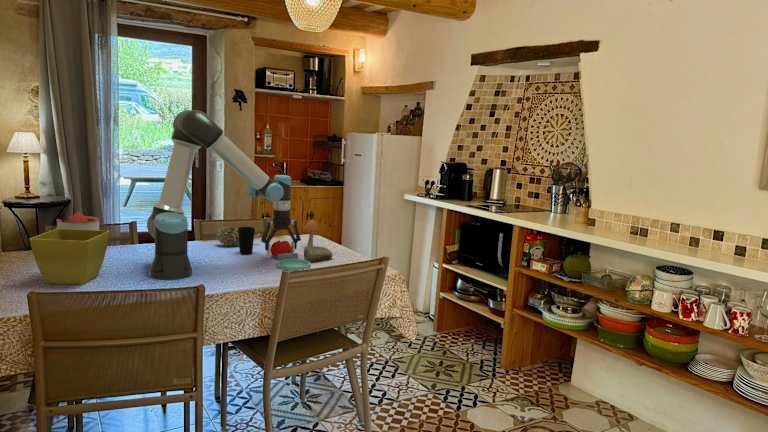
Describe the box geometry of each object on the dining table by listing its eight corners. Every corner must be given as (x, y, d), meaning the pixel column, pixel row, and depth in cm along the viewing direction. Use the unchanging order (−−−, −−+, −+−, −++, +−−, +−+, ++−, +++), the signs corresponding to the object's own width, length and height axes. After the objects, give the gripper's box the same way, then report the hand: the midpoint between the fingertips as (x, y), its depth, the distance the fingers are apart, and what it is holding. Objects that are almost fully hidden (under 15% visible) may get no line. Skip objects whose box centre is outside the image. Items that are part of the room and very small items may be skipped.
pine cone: (218, 248, 252) (218, 228, 251) (213, 244, 260) (213, 225, 259) (263, 246, 263) (263, 226, 262) (257, 242, 271) (258, 223, 270)
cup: (249, 256, 241) (250, 230, 240) (234, 254, 243) (234, 228, 241) (257, 252, 249) (257, 227, 247) (242, 251, 250) (242, 226, 249)
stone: (295, 257, 238) (303, 237, 241) (317, 268, 247) (325, 249, 250) (306, 259, 232) (315, 239, 235) (329, 271, 241) (337, 251, 244)
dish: (282, 271, 217) (282, 268, 217) (272, 263, 230) (272, 260, 230) (315, 269, 224) (315, 265, 224) (303, 261, 237) (303, 258, 237)
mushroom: (322, 248, 265) (323, 219, 263) (312, 251, 258) (313, 221, 256) (310, 246, 269) (311, 217, 267) (299, 248, 262) (300, 218, 260)
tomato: (289, 255, 248) (289, 239, 247) (292, 259, 240) (292, 243, 238) (269, 255, 245) (269, 239, 244) (271, 259, 237) (271, 243, 235)
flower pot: (87, 288, 182) (86, 240, 180) (29, 286, 181) (27, 238, 178) (111, 273, 201) (110, 230, 199) (59, 272, 199) (57, 228, 197)
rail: (278, 262, 232) (278, 254, 232) (277, 261, 233) (277, 254, 233) (297, 261, 237) (298, 253, 236) (296, 260, 238) (297, 252, 237)
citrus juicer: (74, 253, 229) (72, 207, 226) (109, 257, 226) (108, 210, 223) (44, 260, 214) (42, 212, 211) (81, 265, 211) (80, 215, 208)
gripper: (259, 211, 230) (258, 260, 233) (309, 210, 241) (307, 257, 245) (254, 208, 237) (253, 256, 240) (303, 207, 248) (301, 253, 251)
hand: (280, 256), depth 242 cm, fingers open, 11 cm apart
